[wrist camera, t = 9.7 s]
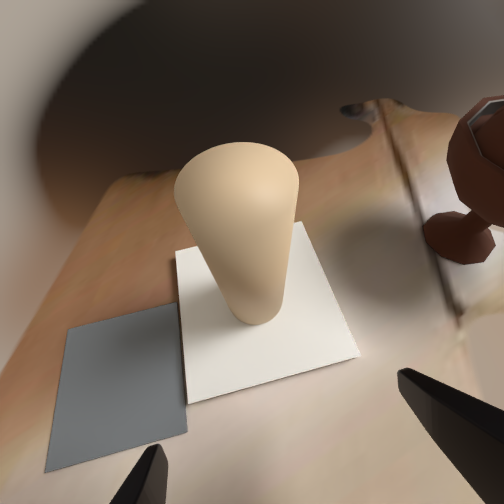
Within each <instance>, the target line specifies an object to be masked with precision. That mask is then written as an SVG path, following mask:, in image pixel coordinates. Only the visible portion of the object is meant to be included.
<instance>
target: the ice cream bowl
mask: <svg viewBox="0 0 504 504" xmlns="http://www.w3.org/2000/svg"><path fill="white" fill-rule="evenodd" d="M446 160H447V164H448V167H449V170H450V174H451V177H452V180H453V183H454V187H455V190H456V192H457V195H458V198H459V200H460V201H461V202H462V203H464V204H465V205H466V206H468V207H469V208H470V209H471V211H470V212H469V213H468V214H467V215H465V214H462V213H458V212H455V211H452V212H445V213H437V214H435V215H433V216H432V217H431V218H430V219H429V220H428V221H427V222H426V223H425V225H424V226H423V229H424V234H425V240H426V242H427V243H428V244H429V245H430V246H431V247H432V248H433V249H434V250H435V251H436V252H437V253H438V254H439V255H440V256H441V257H444V258H447V259H450V260H452V261H455V262H458V263H461V264H464V265H465V264H472V263H479V262H484V261H485V260H486V258H487V257H488V256H489V254H490V253H491V251H492V250H493V249H494V247H495V246H496V245H495V242H494V239H493V237H492V234H491V231H490V230H489V229H488V227H489V226H491V225H492V224H493V225H496V226H500V227H503V228H504V95H502V96H494V97H487V98H483V99H482V100H481V101H480V102H479V103H477V104H476V105H475V106H474V107H473V108H472V109H471V110H470V111H469V112H468V113H467V114H466V115H465V116H464V117H463V118H462V119H460V120H459V122H458V124H457V126H456V129H455V131H454V133H453V135H452V137H451V139H450V142H449V146H448V153H447V159H446Z"/></svg>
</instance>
